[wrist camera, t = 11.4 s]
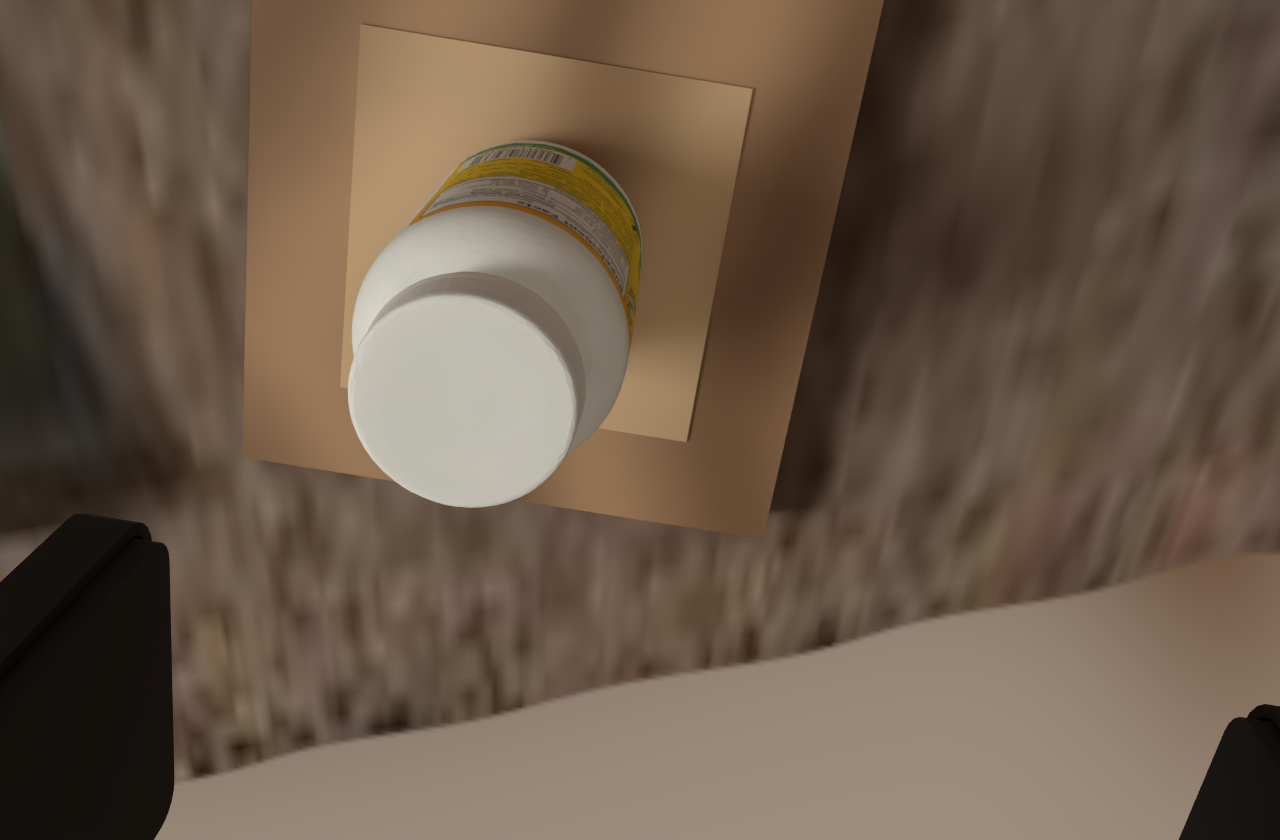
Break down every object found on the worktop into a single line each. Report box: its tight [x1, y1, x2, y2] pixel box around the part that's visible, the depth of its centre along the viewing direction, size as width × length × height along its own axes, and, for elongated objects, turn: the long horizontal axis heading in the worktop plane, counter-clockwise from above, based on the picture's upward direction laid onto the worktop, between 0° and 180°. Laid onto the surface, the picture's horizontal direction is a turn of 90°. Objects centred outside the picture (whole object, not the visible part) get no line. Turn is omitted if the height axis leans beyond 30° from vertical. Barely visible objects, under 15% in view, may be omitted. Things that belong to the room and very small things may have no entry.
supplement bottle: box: [348, 140, 642, 508], centre depth 25 cm, size 5×5×10 cm
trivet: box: [243, 0, 884, 539], centre depth 30 cm, size 14×14×2 cm
